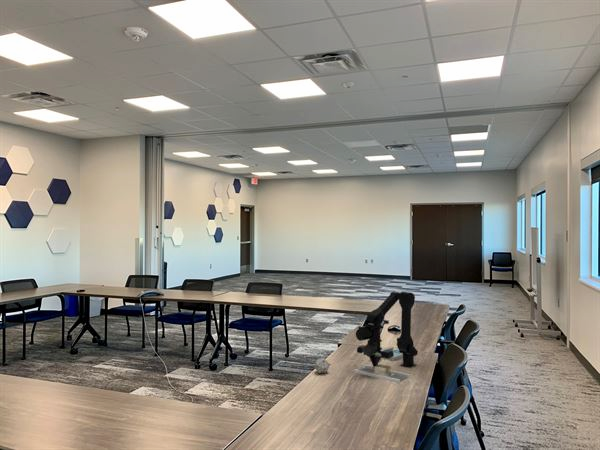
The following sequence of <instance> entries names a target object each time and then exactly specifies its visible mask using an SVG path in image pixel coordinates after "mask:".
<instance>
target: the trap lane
mask: <svg viewBox="0 0 600 450" xmlns="http://www.w3.org/2000/svg"><path fill="white" fill-rule="evenodd" d="M353 373H356V374H360V375H364V376H369V377H371V378H377V379H380V380H384V381H389V382H393V383H396V384H401V382H402V381H403V380H406V379H407V378H408V379H410V378H411V374H409V373H404V372H401V371H397V370H392V369H391V376H388V377H386V376H382V375H378V374H375V369H374V367H373V365H368V364H364V368H363V369H357V368H355V369H353Z"/></svg>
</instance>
